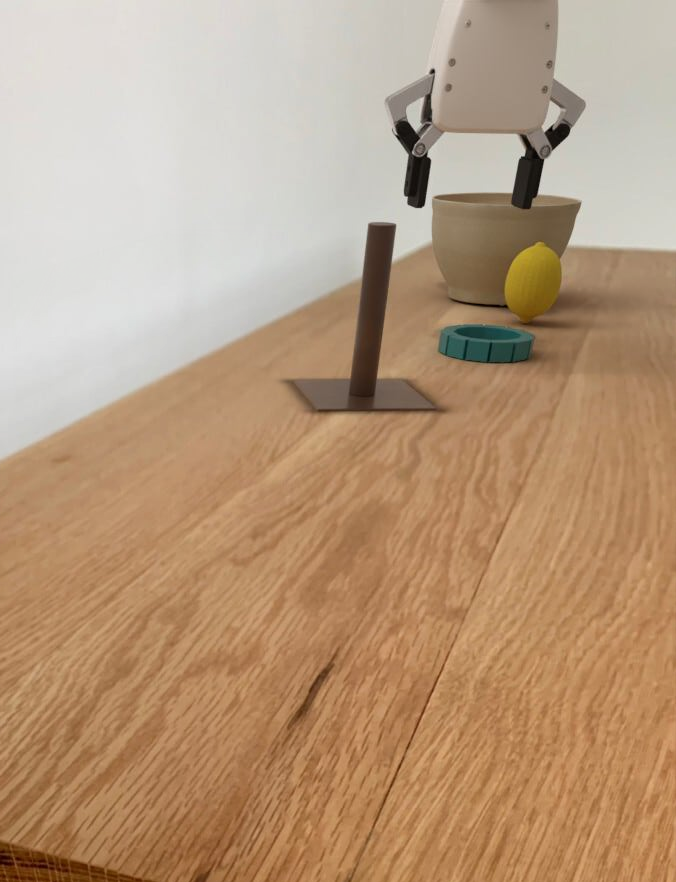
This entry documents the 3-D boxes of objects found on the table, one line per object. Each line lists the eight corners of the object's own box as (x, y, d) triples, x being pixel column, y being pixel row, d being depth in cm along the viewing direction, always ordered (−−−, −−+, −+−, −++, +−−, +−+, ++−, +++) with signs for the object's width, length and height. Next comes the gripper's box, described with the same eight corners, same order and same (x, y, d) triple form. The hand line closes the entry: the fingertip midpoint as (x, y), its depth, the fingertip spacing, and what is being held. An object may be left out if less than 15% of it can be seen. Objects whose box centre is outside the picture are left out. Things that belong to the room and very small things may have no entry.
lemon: (552, 330, 115) (569, 246, 111) (497, 326, 117) (512, 243, 112) (552, 320, 120) (568, 240, 115) (499, 317, 121) (513, 237, 117)
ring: (510, 343, 109) (514, 324, 108) (544, 362, 102) (548, 342, 101) (427, 343, 109) (430, 324, 108) (455, 363, 102) (458, 342, 101)
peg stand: (399, 397, 91) (424, 216, 84) (433, 428, 83) (464, 231, 76) (291, 398, 90) (307, 216, 83) (315, 429, 82) (335, 231, 75)
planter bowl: (537, 289, 137) (556, 191, 131) (579, 314, 123) (602, 206, 117) (406, 287, 137) (420, 189, 132) (434, 311, 123) (450, 203, 118)
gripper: (589, -20, 94) (545, 203, 103) (389, -25, 93) (362, 201, 102) (630, -25, 88) (578, 213, 97) (416, -30, 86) (384, 211, 95)
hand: (468, 207), depth 99 cm, fingers open, 9 cm apart
